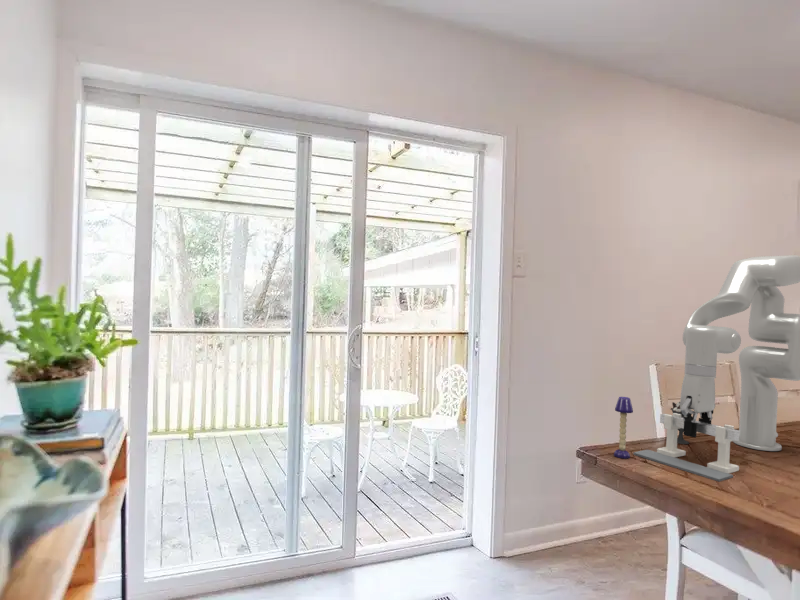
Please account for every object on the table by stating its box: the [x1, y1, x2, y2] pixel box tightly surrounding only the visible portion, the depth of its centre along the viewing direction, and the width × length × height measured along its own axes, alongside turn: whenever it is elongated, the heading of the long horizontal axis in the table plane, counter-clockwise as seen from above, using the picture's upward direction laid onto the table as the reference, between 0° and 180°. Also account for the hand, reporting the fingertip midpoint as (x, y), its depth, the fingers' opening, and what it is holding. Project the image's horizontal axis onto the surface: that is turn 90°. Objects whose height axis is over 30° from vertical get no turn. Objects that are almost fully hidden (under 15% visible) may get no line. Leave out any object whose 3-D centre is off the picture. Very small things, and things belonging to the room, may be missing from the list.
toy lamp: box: [613, 396, 634, 459], centre depth 141 cm, size 5×5×17 cm
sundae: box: [670, 401, 694, 445], centre depth 158 cm, size 7×7×15 cm
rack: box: [656, 412, 740, 474], centre depth 139 cm, size 6×19×12 cm, turn 32°
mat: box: [632, 449, 734, 482], centre depth 135 cm, size 7×23×1 cm, turn 32°
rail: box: [659, 413, 740, 442], centre depth 139 cm, size 2×20×2 cm, turn 32°
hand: (697, 434), depth 139 cm, fingers open, 6 cm apart
